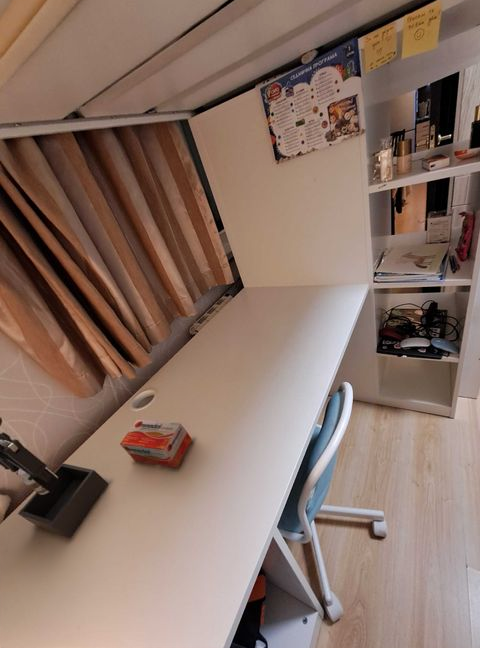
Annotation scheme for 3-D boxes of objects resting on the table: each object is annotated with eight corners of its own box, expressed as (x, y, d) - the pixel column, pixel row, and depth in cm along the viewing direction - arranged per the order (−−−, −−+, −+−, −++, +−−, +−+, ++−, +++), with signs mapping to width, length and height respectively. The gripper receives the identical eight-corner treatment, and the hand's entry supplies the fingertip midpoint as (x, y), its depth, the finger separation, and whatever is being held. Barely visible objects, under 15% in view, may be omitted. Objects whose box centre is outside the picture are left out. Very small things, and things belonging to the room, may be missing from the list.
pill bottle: (40, 499, 65) (15, 481, 61) (38, 487, 68) (14, 469, 64) (60, 484, 67) (37, 465, 63) (57, 472, 70) (35, 454, 66)
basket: (36, 525, 70) (17, 513, 67) (76, 475, 80) (61, 462, 76) (70, 538, 65) (51, 526, 62) (108, 483, 75) (94, 469, 71)
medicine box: (193, 440, 79) (181, 421, 74) (179, 468, 72) (164, 450, 68) (150, 436, 84) (136, 418, 80) (133, 462, 78) (117, 444, 74)
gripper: (11, 408, 54) (86, 474, 67) (-36, 403, 61) (40, 464, 74) (-31, 444, 48) (59, 509, 61) (-78, 434, 55) (12, 494, 68)
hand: (48, 484), depth 67 cm, fingers closed on pill bottle, 4 cm apart
